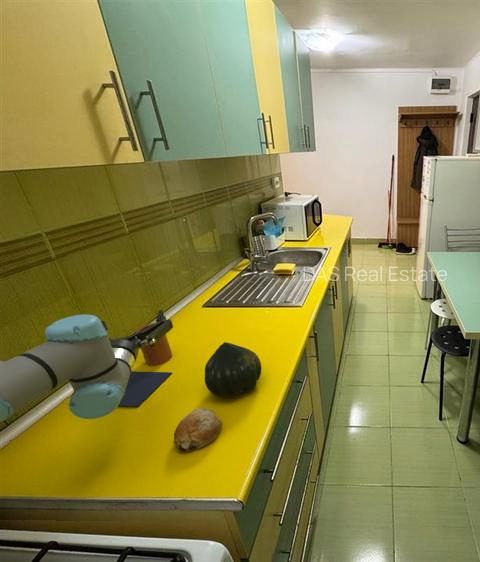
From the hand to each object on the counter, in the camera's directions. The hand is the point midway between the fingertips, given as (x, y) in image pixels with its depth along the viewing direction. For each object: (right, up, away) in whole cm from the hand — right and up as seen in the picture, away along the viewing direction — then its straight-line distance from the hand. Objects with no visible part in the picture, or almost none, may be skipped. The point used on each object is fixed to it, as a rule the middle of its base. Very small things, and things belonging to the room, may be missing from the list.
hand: (134, 319), depth 87 cm
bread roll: (+26, -27, -12) cm, 40 cm away
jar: (-4, -16, +16) cm, 23 cm away
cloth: (-5, -21, +3) cm, 22 cm away
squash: (+28, -21, +3) cm, 35 cm away
